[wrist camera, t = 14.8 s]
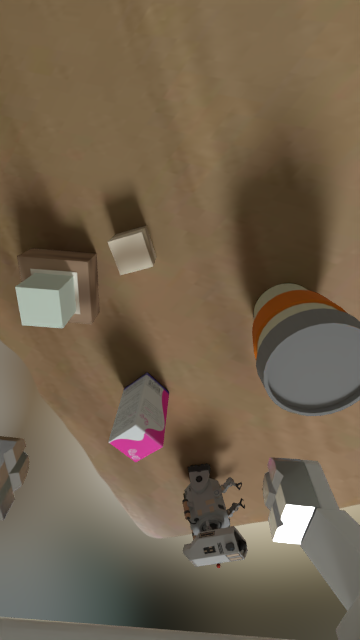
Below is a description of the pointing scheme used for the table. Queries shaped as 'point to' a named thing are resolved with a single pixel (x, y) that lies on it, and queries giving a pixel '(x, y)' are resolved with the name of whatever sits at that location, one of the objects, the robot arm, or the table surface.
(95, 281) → the walnut base
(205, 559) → the figurine
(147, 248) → the block
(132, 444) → the supplement box
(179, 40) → the table surface
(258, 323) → the reusable coffee cup
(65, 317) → the sage block
